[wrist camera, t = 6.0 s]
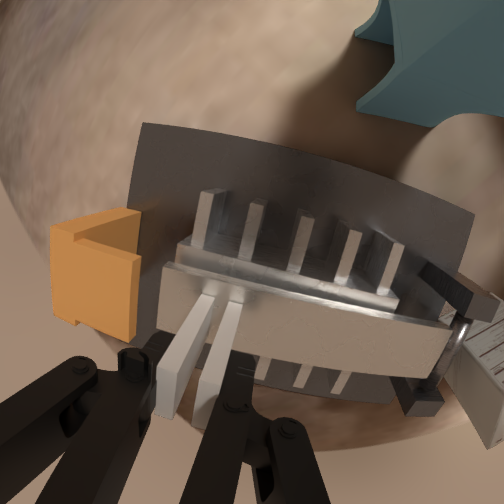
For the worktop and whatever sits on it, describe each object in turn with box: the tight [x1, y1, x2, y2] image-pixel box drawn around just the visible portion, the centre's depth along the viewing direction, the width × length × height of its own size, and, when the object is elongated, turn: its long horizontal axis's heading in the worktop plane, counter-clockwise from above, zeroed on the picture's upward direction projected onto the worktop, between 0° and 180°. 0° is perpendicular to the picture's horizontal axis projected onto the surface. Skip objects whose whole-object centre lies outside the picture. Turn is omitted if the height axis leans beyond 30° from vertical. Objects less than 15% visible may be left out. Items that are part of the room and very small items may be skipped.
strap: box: [156, 261, 474, 392], centre depth 16 cm, size 6×20×2 cm, turn 77°
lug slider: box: [50, 207, 142, 343], centre depth 18 cm, size 6×6×8 cm
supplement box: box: [438, 292, 504, 450], centre depth 17 cm, size 7×7×13 cm
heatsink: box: [119, 122, 501, 417], centre depth 19 cm, size 20×28×8 cm
